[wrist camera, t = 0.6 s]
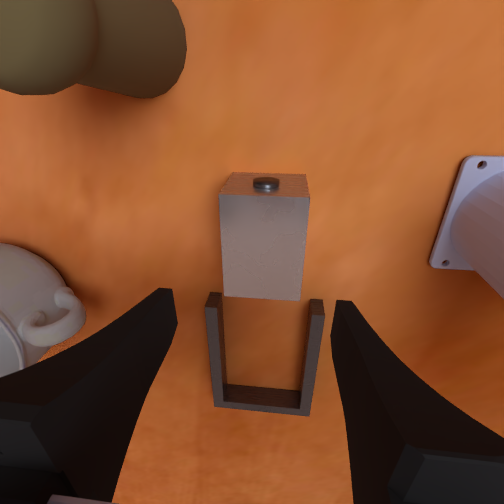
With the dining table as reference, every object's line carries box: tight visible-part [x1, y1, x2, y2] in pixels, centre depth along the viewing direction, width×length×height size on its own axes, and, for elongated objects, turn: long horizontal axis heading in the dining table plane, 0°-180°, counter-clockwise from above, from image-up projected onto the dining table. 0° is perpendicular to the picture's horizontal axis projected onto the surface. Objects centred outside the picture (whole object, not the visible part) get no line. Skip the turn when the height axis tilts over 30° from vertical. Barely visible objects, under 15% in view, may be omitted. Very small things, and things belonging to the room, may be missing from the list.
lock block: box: [219, 172, 310, 301], centre depth 20 cm, size 5×7×5 cm
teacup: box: [0, 243, 86, 377], centre depth 24 cm, size 14×11×8 cm
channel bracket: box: [205, 292, 325, 416], centre depth 28 cm, size 10×13×2 cm
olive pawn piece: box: [0, 0, 187, 98], centre depth 13 cm, size 6×6×11 cm
